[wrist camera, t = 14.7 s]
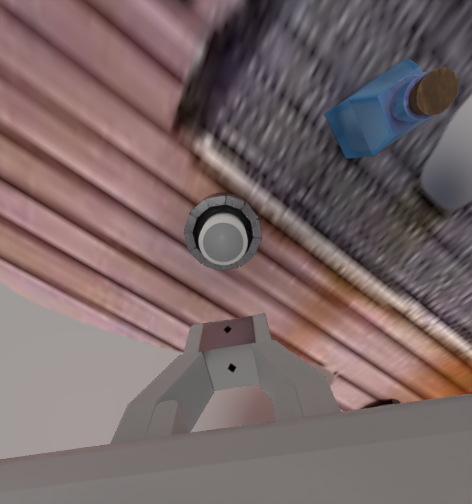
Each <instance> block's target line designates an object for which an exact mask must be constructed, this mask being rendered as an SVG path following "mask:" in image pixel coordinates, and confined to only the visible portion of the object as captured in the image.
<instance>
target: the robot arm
mask: <svg viewBox="0 0 472 504" xmlns="http://www.w3.org/2000/svg"><path fill="white" fill-rule="evenodd" d="M258 384H260V386H261V387H262V389H263V390H264V391H265V392H266V393H267V395H268V396H269V397H270V398H271V400H272V401H273V405H274V412H275V419H276V421H271V422H265V423H257V424H250V425H242V426H236V427H228V428H221V429H214V430H207V431H200V432H192V433H190V432H191V430H192V429H193V427H194V425H195V424H196V422H197V420H198V419H199V417H200V415H201V413H202V412H203V410H204V408H205V407H206V405H207V403H208V402H209V400H210V398H211V397H212V395H213V393H214V391H216V390H222V389H228V388H234V387H241V386H249V385H258ZM0 504H472V394H465V395H457V396H450V397H443V398H436V399H429V400H422V401H414V402H407V403H400V404H393V405H386V406H379V407H372V408H365V409H358V410H351V411H344V412H341V411H340V409H339V406H338V404H337V402H336V400H335V397H334V395H333V393H332V391H331V388H330V386H329V384H328V382H327V379H326V377H325V376H324V375H322V374H321V373H320V372H318V371H317V370H315V369H314V368H313V367H311V366H310V365H309V364H307V363H306V362H305V361H303V360H302V359H300V358H299V357H298V356H296V355H295V354H294V353H292V352H291V351H290V350H288V349H287V348H285V347H284V346H283V345H281V344H280V343H279V342H277V341H276V340H272V341H271V336H270V332H269V327H268V323H267V318H266V314H265V313H263V314H258V315H253V316H249V317H243V318H238V319H232V320H224V321H216V322H209V323H202V324H196V325H192V326H191V327H190V331H189V335H188V339H187V342H186V346H185V350H184V354H183V355H179V356H178V357H177V358H176V359H175V360H174V361H173V362H172V363H171V364H170V365H169V366H168V367H167V368H166V369H165V370H164V371H163V372H162V373H161V374H159V376H157V378H155V379H154V380H153V381H152V382H151V383H150V384H149V385H148V386H147V387H146V388H145V389H144V390H143V391H142V392H141V393H140V394H139V395H138V396H137V397H136V398H135V399H134V400H133V401H131V402H130V403H129V404H128V406H127V408H126V410H125V412H124V414H123V417H122V419H121V421H120V423H119V426H118V428H117V431H116V432H115V435H114V437H113V439H112V441H111V443H110V444H107V445H100V446H93V447H85V448H78V449H72V450H64V451H57V452H50V453H42V454H35V455H28V456H21V457H15V458H7V459H0Z"/></svg>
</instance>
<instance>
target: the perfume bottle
mask: <svg viewBox="0 0 472 504" xmlns="http://www.w3.org/2000/svg"><path fill="white" fill-rule="evenodd" d="M457 91H458V78H457V76H456V74H455V72H453V71H452V70H451V69H449V68H445V67H441V68H436V69H434V70H432V71H430V72H424V73H422V70H421V67H420V66H419V65H417V64H416V63H414V62H413V61H411V60H410V59H408V58H406V59H405V60H403V61H402V62H400V63H399V64H397V65H395V66H394V67H392V68H391V69H389V70H387V71H386V72H384V73H383V74H381V75H379V76H378V77H376V78H375V79H373V80H372V81H370V82H369V83H367V84H366V85H364V86H363V87H362V88H360V89H359V90H357V91H356V92H355V93H353V94H352V95H350V96H349V97H348V98H346V99H345V100H343V101H342V102H341V103H339V104H338V105H336V106H335V107H334V108H332V109H331V110H329V111H328V112H327V113H325V116H326V118H327V121H328V123H329V125H330V127H331V129H332V131H333V133H334V135H335V137H336V139H337V141H338V143H339V145H340V148H341V150H342V152H343V154H344V156H345V158H346V159H347V158H358V157H368V156H374V155H375V154H377V153H378V152H380V151H381V150H383V149H384V148H386V147H387V146H389V145H391V144H392V143H394V142H395V141H397V140H398V139H400V138H401V137H403V136H404V135H406V134H407V133H409V132H410V131H412V130H413V129H415V128H416V127H418V126H419V125H421V124H423V123H424V122H426V121H427V120H429V118H430V117H431V116H433V115H436V114H439V113H441V112H443V111H445V110H446V109H447V108H448V107H449V106H450V105H451V104H452V102H453V101H454V99H455V97H456V94H457Z"/></svg>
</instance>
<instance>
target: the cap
mask: <svg viewBox="0 0 472 504" xmlns="http://www.w3.org/2000/svg"><path fill="white" fill-rule="evenodd" d="M247 245H248V239H247V234H246V230H245V226H244V223H243V221H242V220H241V218H240V217H239V216H238V215H237V214H235V213H233V212H231V211H226V210H222V211H217V212H215V213H213V214H211V215H210V216H209V217H208V218H207V220H206V222H205V224H204V226H203V228H202V230H201V232H200V235H199V248H200V250H201V252H202V254H203V255H204V257H205V258H206V259H207V260H209V261H210V262H212V263H215V264H218V265H229V264H232V263H234V262H236V261H238V260H239V259H240V258H241V257H242V256H243V255H244V253H245V251H246V249H247Z"/></svg>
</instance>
